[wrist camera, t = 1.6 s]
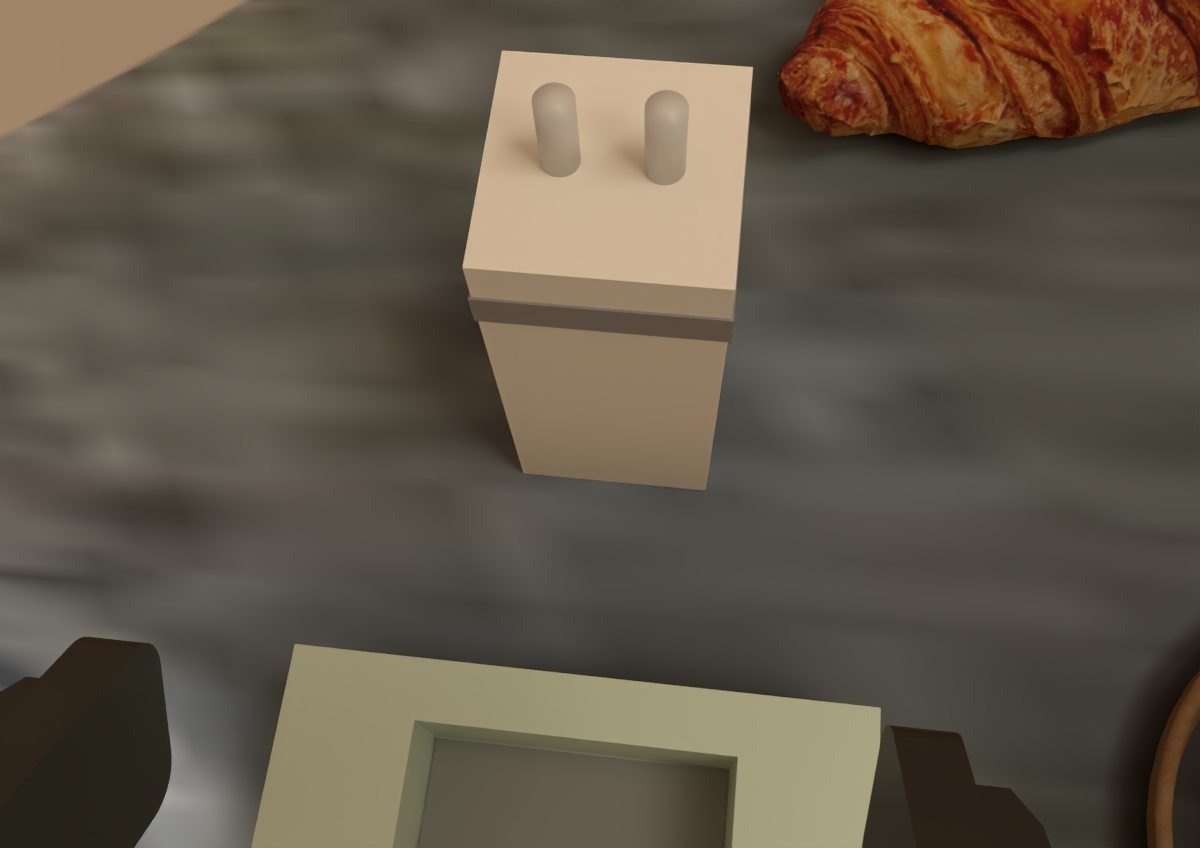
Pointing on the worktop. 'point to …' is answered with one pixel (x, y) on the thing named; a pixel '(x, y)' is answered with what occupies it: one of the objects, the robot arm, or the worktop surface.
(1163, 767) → the place setting
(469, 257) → the block
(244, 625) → the worktop surface
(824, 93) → the croissant
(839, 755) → the green rectangular tray
